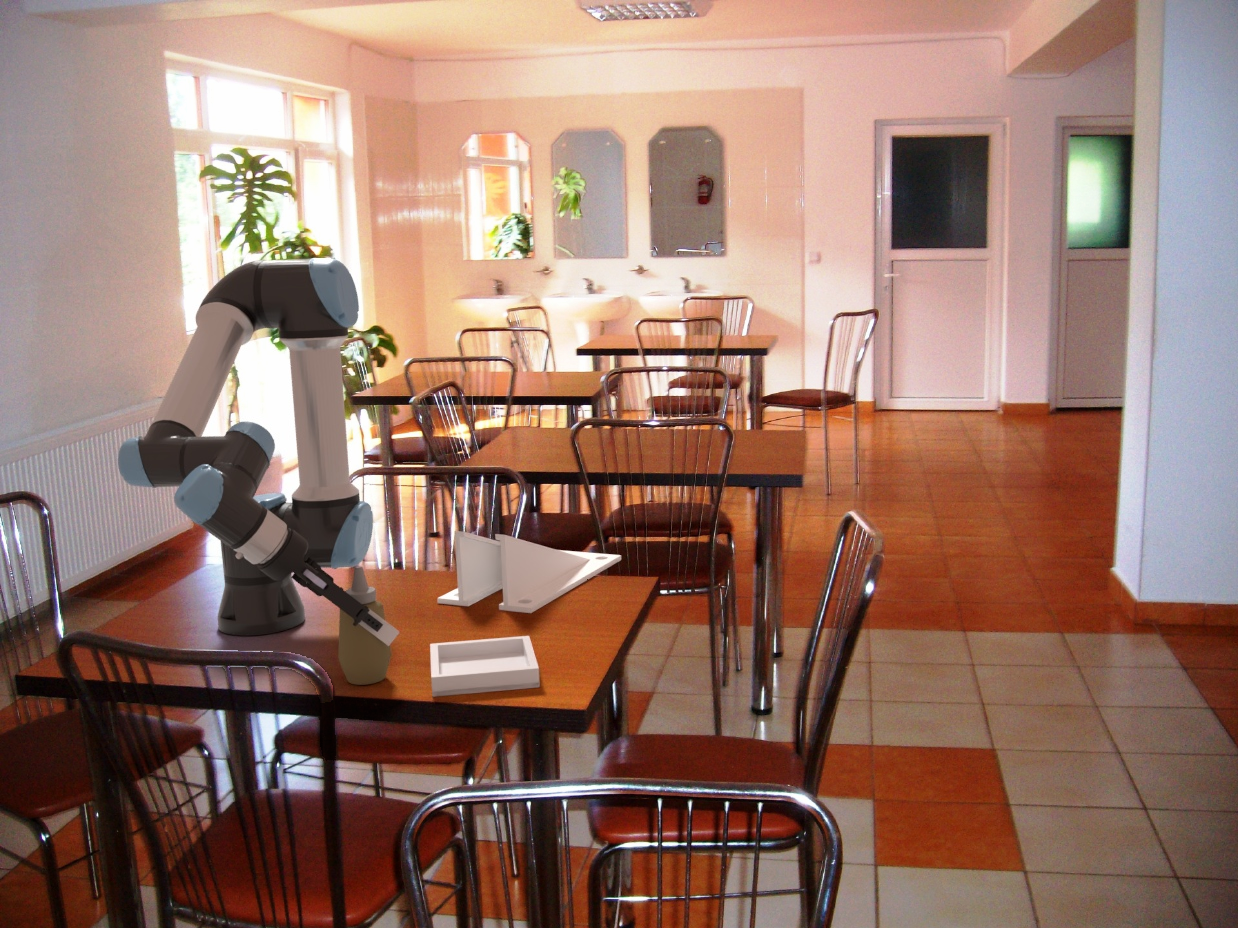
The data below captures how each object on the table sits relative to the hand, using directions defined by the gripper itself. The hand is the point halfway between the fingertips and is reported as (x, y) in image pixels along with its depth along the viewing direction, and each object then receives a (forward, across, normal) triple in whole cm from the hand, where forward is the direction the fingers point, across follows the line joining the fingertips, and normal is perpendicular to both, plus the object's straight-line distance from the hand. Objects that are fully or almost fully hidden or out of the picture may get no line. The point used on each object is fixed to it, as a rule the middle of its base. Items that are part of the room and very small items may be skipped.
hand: (385, 632), depth 187 cm
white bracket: (+19, -25, +19) cm, 36 cm away
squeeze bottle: (+3, 0, -8) cm, 8 cm away
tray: (+14, +8, +4) cm, 17 cm away
